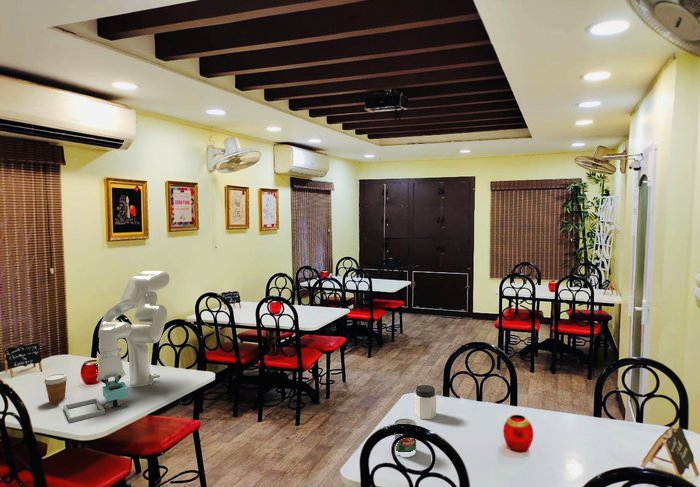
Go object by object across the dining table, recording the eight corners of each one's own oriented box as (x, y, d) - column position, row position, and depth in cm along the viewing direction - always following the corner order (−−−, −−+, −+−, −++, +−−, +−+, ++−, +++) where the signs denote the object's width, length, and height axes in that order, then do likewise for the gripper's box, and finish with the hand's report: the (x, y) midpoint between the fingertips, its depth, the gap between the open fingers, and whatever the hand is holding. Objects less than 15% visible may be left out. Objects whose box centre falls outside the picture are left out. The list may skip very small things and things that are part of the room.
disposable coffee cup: (44, 407, 227) (42, 381, 226) (46, 400, 236) (44, 375, 235) (68, 403, 231) (66, 378, 230) (69, 396, 240) (67, 372, 239)
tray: (97, 404, 230) (96, 397, 229) (105, 416, 216) (104, 409, 215) (63, 411, 221) (63, 405, 221) (69, 425, 208) (69, 418, 207)
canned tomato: (408, 460, 175) (407, 430, 175) (390, 452, 181) (390, 423, 180) (420, 451, 181) (420, 422, 180) (403, 444, 187) (402, 416, 186)
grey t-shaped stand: (124, 401, 232) (123, 380, 231) (129, 408, 224) (128, 387, 223) (101, 407, 226) (100, 386, 225) (105, 414, 218) (104, 392, 217)
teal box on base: (121, 386, 236) (120, 378, 235) (128, 396, 225) (128, 387, 224) (100, 391, 231) (100, 383, 230) (107, 401, 219) (106, 393, 219)
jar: (422, 409, 218) (422, 383, 217) (439, 414, 213) (439, 387, 212) (411, 416, 211) (411, 389, 210) (428, 421, 206) (428, 393, 205)
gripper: (125, 347, 237) (128, 384, 239) (88, 354, 227) (91, 393, 229) (129, 351, 231) (132, 388, 233) (91, 359, 221) (95, 398, 224)
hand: (112, 390), depth 231 cm, fingers closed on teal box on base, 2 cm apart
